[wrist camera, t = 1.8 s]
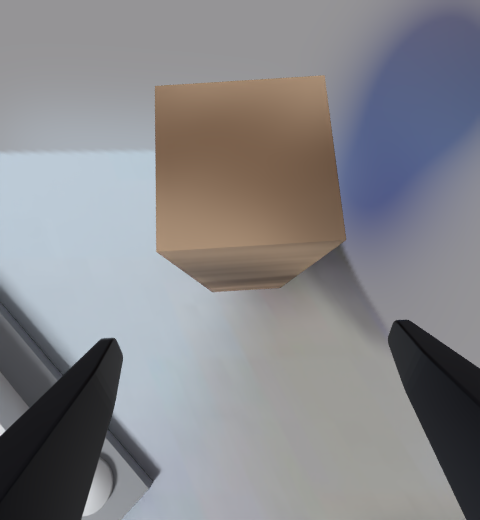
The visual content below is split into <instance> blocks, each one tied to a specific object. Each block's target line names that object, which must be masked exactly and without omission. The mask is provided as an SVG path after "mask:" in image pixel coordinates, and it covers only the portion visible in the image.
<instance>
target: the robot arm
mask: <svg viewBox="0 0 480 520" xmlns="http://www.w3.org/2000/svg"><path fill="white" fill-rule="evenodd" d="M388 344H389V347H390V350H391V352H392V355H393V358H394V361H395V364H396V367H397V369H398V372H399V375H400V378H401V381H402V384H403V386H404V389H405V391H406V393H407V396H408V398H409V400H410V402H411V404H412V406H413V408H414V410H415V413H416V415H417V417H418V419H419V421H420V423H421V425H422V427H423V429H424V431H425V434H426V436H427V438H428V440H429V442H430V444H431V446H432V448H433V450H434V453H435V455H436V457H437V459H438V461H439V463H440V465H441V467H442V469H443V472H444V474H445V476H446V478H447V480H448V482H449V484H450V486H451V488H452V490H453V493H454V495H455V497H456V499H457V501H458V503H459V505H460V507H461V509H462V512H463V514H464V516H465V518H466V520H480V368H478V367H476V366H475V365H474V364H472V363H471V362H469V361H468V360H467V359H465V358H464V357H462V356H461V355H459V354H458V353H456V352H455V351H453V350H452V349H450V348H449V347H447V346H446V345H445V344H443V343H442V342H440V341H439V340H437V339H436V338H434V337H433V336H432V335H430V334H429V333H427V332H426V331H424V330H423V329H421V328H420V327H418V326H417V325H416V324H414V323H413V322H411V321H409V320H396V321H394V323H393V325H392V328H391V330H390V333H389V336H388ZM122 362H123V354H122V352H121V349H120V347H119V345H118V343H117V340H116V339H115V338H103V339H101V340H99V341H98V342H97V343H96V344H95V345H94V346H93V347H92V348H91V349H90V350H89V351H88V352H87V353H86V354H85V355H84V356H83V357H82V358H81V359H80V360H79V361H78V362H76V363H75V364H74V365H73V366H72V367H71V368H70V369H69V370H68V371H67V372H66V373H65V374H64V375H63V376H62V377H61V378H60V379H59V380H58V381H57V382H56V383H55V384H54V385H53V386H52V387H51V388H49V389H48V390H47V391H46V392H45V393H44V394H43V395H42V396H41V397H40V398H39V399H38V400H37V401H36V402H35V403H34V404H33V405H32V406H31V407H30V408H29V409H28V410H27V411H26V412H25V413H24V414H22V415H21V416H20V417H19V418H18V419H17V420H16V421H15V422H14V423H13V424H12V425H11V426H10V427H9V428H8V429H7V430H6V431H5V432H4V433H3V434H2V435H1V436H0V520H81V519H82V516H83V512H84V509H85V505H86V502H87V499H88V495H89V492H90V488H91V485H92V482H93V478H94V475H95V471H96V468H97V465H98V461H99V458H100V454H101V451H102V448H103V444H104V441H105V437H106V434H107V431H108V427H109V424H110V420H111V417H112V413H113V410H114V406H115V401H116V395H117V390H118V384H119V379H120V373H121V368H122Z"/></svg>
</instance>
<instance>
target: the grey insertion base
mask: <svg viewBox="0 0 480 520" xmlns="http://www.w3.org/2000/svg"><path fill="white" fill-rule="evenodd" d="M62 376H63V375H62V374H61V373H60V372H59V371H58V370H57V368H56V367H55V366H54V365H53V364H52V362H51V361H50V360H49V359H48V358H47V357H46V355H45V354H44V353H43V352H42V351H41V350H40V348H39V347H38V346H37V345H36V344H35V342H34V341H33V340H32V339H31V338H30V337H29V335H28V334H27V333H26V332H25V331H24V330H23V328H22V327H21V326H20V325H19V324H18V322H17V321H16V320H15V319H14V318H13V317H12V315H11V314H10V313H9V312H8V311H7V310H6V308H5V307H4V306H3V305H2V304H1V302H0V436H1V435H2V434H3V433H4V432H5V431H6V430H7V429H8V428H9V427H10V426H11V425H12V424H13V423H14V422H15V421H16V420H17V419H18V418H19V417H20V416H21V415H22V414H24V413H25V412H26V411H27V410H28V409H29V408H30V407H31V406H32V405H33V404H34V403H35V402H36V401H37V400H38V399H39V398H40V397H41V396H42V395H43V394H44V393H45V392H46V391H47V390H48V389H49V388H51V387H52V386H53V385H54V384H55V383H56V382H57V381H58V380H59V379H60V378H61V377H62ZM152 483H153V481H152V480H151V479H150V478H149V477H148V476H147V474H146V473H145V472H144V471H143V470H142V468H141V467H140V466H139V465H138V464H137V463H136V461H135V460H134V459H133V458H132V457H131V456H130V454H129V453H128V452H127V451H126V450H125V448H124V447H123V446H122V445H121V444H120V443H119V441H118V440H117V439H116V438H115V437H114V435H113V434H112V433H111V432H110V431H109V430H108V431H107V434H106V437H105V441H104V444H103V448H102V451H101V454H100V458H99V461H98V465H97V468H96V471H95V475H94V478H93V482H92V485H91V488H90V492H89V495H88V499H87V502H86V505H85V509H84V512H83V516H82V519H81V520H121V519H122V518H123V517H124V516H125V515H126V514H127V513H128V511H129V510H130V509H131V508H132V507H133V506H134V505H135V504H136V503H137V502H138V501H139V500H140V499H141V497H142V496H143V495H144V494H145V493H146V492H147V491H148V490H149V488H150V487H151V485H152Z"/></svg>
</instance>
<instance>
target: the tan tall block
mask: <svg viewBox="0 0 480 520" xmlns="http://www.w3.org/2000/svg"><path fill="white" fill-rule="evenodd" d="M155 137H156V138H155V139H156V140H155V142H156V143H155V144H156V252H157V253H159V254H160V255H162V256H163V257H164V258H166V259H167V260H169V261H170V262H171V263H173V264H174V265H176V266H177V267H178V268H180V269H181V270H182V271H184V272H185V273H187V274H188V275H189V276H191V277H192V278H194V279H195V280H196V281H198V282H199V283H201V284H202V285H203V286H205V287H206V288H207V289H209V290H210V291H212V292H221V291H237V290H253V289H269V288H281V287H282V286H283V285H285V284H286V283H288V282H289V281H290V280H292V279H293V278H294V277H296V276H297V275H299V274H300V273H301V272H303V271H304V270H305V269H307V268H308V267H310V266H311V265H312V264H314V263H315V262H316V261H318V260H319V259H321V258H322V257H323V256H325V255H326V254H328V253H329V252H330V251H332V250H333V249H334V248H336V247H337V246H339V245H340V244H341V243H343V242H344V241H345V240H346V234H345V227H344V219H343V211H342V204H341V197H340V189H339V182H338V174H337V166H336V159H335V152H334V144H333V136H332V129H331V121H330V113H329V106H328V99H327V91H326V84H325V76H308V77H292V78H276V79H261V80H245V81H230V82H229V81H228V82H214V83H213V82H212V83H196V84H182V85H164V86H155Z"/></svg>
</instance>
